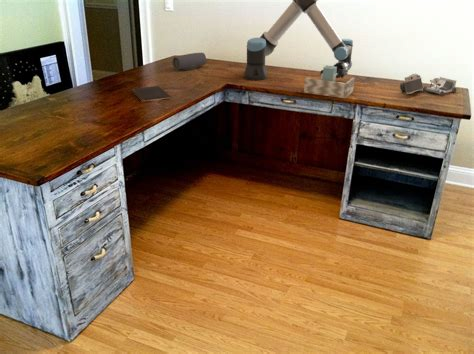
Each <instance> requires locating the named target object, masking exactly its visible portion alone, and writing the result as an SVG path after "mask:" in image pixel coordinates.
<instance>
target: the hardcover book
mask: <svg viewBox="0 0 474 354" xmlns="http://www.w3.org/2000/svg"><path fill="white" fill-rule="evenodd" d="M131 90H132V91H133V92H134V93H135V94H136V95H137V96H138V97H139V98H140V99H141V100H142V101H145V100H157V99H165V98H170V99H171V97H172V96H171V95H170V94H169V93H168V92H166V91H165V90H164V89H163V88H162V87H160V86H159V85H156V86H147V87H138V88H132V89H131ZM132 91H131V92H132Z"/></svg>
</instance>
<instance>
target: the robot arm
mask: <svg viewBox="0 0 474 354" xmlns="http://www.w3.org/2000/svg"><path fill="white" fill-rule="evenodd" d="M318 1H319V0H292V2H291V3H290V5H289V6H288V7H286V10H284V11H283V12H282V14H281V15H280V17H279V18H278V19H277V20H276V21H275V23H273V24H272V26H271V27H270V28H269V30H268V31H264V32H263V33H262V34H261V36H259V37H253V38H252V37H251V38H249V39H248V40H247V42H246V66H245V70H244V73H243V78H244V79H246V80H250V81H251V80H252V81H257V80H258V81H259V80H265V79H268V71H267V67H266V57H267V56H269V55H271V54H272V53H273V52H274V51H275V48H276V47H277V46H278V45H279V40H280V39H281V38H282V37H283V35H284V34H285V33H286V31H288V29H289V28H290V27H291V26H292V25H293V24H294V23H295V22H296V21H297V20H298V18H299V17H300V16H301V15H302V14H306V15H307V17H308V18H309V19H310V21H311V22H312V24H314V25H313V26H314V27H315V28H316V29H317V31H318V32H319V34H320V35H321V36H322V38H323V40H324V41H325V42H326V43H327V45H328V47H329V48H330V49H331V51H332V54H333V56H334V59H335V60H337V62H336V63H335V64H333V65H332V66H336V67H337V72H336V74H335V75H333V80H335V79H336V80H337V79H340V78H341V79H343V78H344V77H346V76H347V75H349V74H348V73H349V70H351V68H352V66H353V62H352V53H353V47H354V43H353V42H354V41H353V39H351V38H342V39H341V37H340V35H339V34H338V33H337V31H336V30H335V28H334V26H333V25H332V24H331V22H330V20H329V19H328V18H327V17H326V16H325V14H324V12H323V11H322V9H321V8H320V6H319V3H318ZM322 77H323V69H322V70H320V80H322Z"/></svg>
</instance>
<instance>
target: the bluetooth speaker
mask: <svg viewBox="0 0 474 354" xmlns="http://www.w3.org/2000/svg"><path fill="white" fill-rule="evenodd" d="M206 63H207V57H206V54H205V53H204V52H194V53H186V54H181V55H177V56H174V57H173V58H172V67H173V68H174V69H175V70H183V71H188V70H195V69H197V68H198V67H201V66H204V65H206Z"/></svg>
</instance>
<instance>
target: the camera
mask: <svg viewBox="0 0 474 354" xmlns="http://www.w3.org/2000/svg"><path fill="white" fill-rule="evenodd" d="M423 88H424V87H423V81H422V77H421V75H420V74H419V73H412V74H410V75H408V76H406V77H404V81H403V82H400V85H399V89H400V90H401V92H405V94H407V95H411V94H414V93H415V92H421V91H423Z"/></svg>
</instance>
